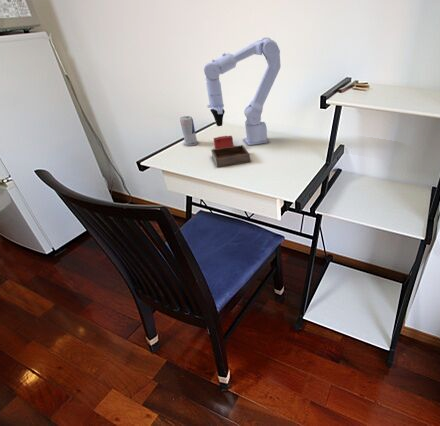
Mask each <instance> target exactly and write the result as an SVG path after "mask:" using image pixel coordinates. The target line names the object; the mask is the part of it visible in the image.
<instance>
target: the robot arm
mask: <svg viewBox="0 0 440 426" xmlns="http://www.w3.org/2000/svg"><path fill="white" fill-rule="evenodd" d="M221 55H222V56H220V57H218V58H216V59H215V58H213V59H211V61H209V62H206V63H205V65H204V67H203V71H204V76H205V81H206V83H205V84H206V90H207V91H206V92H207V96H208V103H209V104H207V105H206V108H208V109H210V112H211V114H212V116H213V118H214V122H215V125H216V126H217V127H222V126H223V122H224V121H223V120H224V115H225V109H224V107H225V104H224V99H223V98H224V97H223V93H222V92H223V91H222V84H221V82H220V75H224V74H225V73H227V72H229V71H231V70H233V69H235V68H237V67H236V66H237V64H238V63H239V62H241V61H243V60H245V59H247V58H250V57H252V56H254V55H257V56H264V58H265V62H266V64H267V67H266V69H265V71H264V73H263V75H262V78H261V81H260V83H259V85H258V87H257V89H256V92H255V94H254V96H253V99H252V100H251V101H250V102H249V104H248V106H246V107H245V108H244V116H245V118H246V119H245V122H244V125H245V126H244V127H245V138H244V141H245V142H246V144H247V145H248V146H252V145H253V146H254V145H260V144H266V143H269V141H268V129H267V128H268V127H267V123H266V122H265V121H262V114H263V110H264V104H265V102H266V100H267V98H268V97H269V94H270V92H271V90H272V87H273V85H274V83H275V80H276V78H277V76H278V74H279V72H280V70H281V50H280V47H279V45H278V43H277V42H276V41H275V40H273V39H272V38H270V37H266V36H265V37H263V38H261V39H257V40H255V41H253V42H252V43H249V44H248V45H246V46H244V47H242V49H240V50H238V51H236V52H235V53H233V54H232V53H230V52H226V53H225V52H224V53H222V54H221Z"/></svg>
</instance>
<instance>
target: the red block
mask: <svg viewBox="0 0 440 426" xmlns="http://www.w3.org/2000/svg"><path fill="white" fill-rule="evenodd" d="M213 144H214V145H213V146H214V149H220V148H226V147H233V146H234V139H233V136H232V135H222V136H217V137H213Z"/></svg>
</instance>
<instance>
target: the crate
mask: <svg viewBox="0 0 440 426" xmlns="http://www.w3.org/2000/svg"><path fill="white" fill-rule="evenodd" d="M211 156H212V159H213V161H214V163H215V166H216V167H217V168H221V167H227V166H233V165H234V166H235V165H239V164H245V163H246V164H247V163H250V162H251V157H250V153H249V151H248V149H246V147H245V145H243V144H241V145H233V147H226V148H220V149H215V148H213V149H211Z"/></svg>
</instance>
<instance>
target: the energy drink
mask: <svg viewBox="0 0 440 426" xmlns="http://www.w3.org/2000/svg"><path fill="white" fill-rule="evenodd" d="M179 122H180V127H181V131H182V136H183V140H184V144H185V146H188V147H189V146H190V147H191V146H195V145H197V144H198V139H197V134H196V128H195V123H194V119H193V117H192V116H191V115H185V116H181V117H180V119H179Z"/></svg>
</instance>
